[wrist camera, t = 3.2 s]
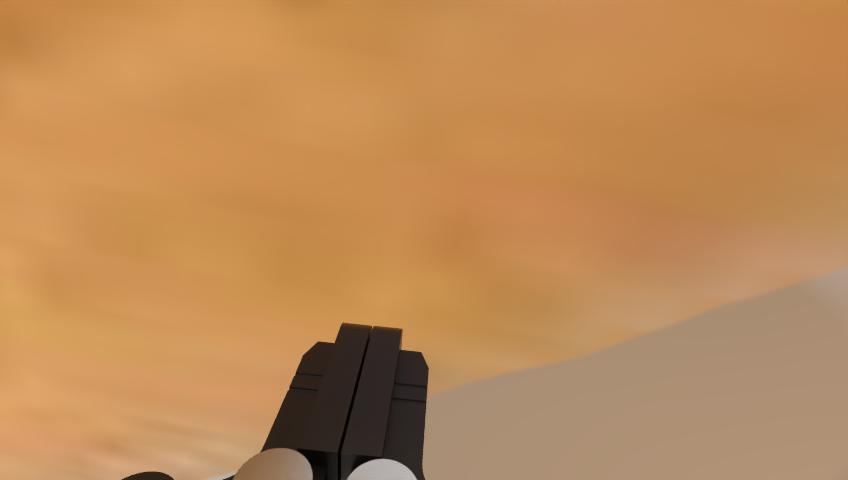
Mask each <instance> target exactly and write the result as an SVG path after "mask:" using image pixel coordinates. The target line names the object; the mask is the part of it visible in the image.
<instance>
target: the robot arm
mask: <svg viewBox="0 0 848 480" xmlns="http://www.w3.org/2000/svg"><path fill="white" fill-rule="evenodd" d="M402 331H403V330H402V329H399V328H389V327H379V326H374V327H373V329H372V326H368V325H359V324H349V323H342V325H341V327H340V330H339V332H338V335H337V338H336V341H335V343H327V342H317V343H316V344H315V345H314V346H313V347H312V348H311V349H310V350H309V351H307V352H306V353H305V354H304V355H303V357H302V359H301V362H300V364H299V366H298V369H297V371H296V375H295V376H294V378H293V380H292V382H291V385H290V388H289V391H288V392H287V394H286V396H285V398H284V401H283V403H282V405H281V408H280V410H279V412H278V415H277V417H276V419H275V421H274V424H273V426H272V428H271V431H270V433H269V435H268V438H267V440H266V442H265V444H264V446H263V448H262V450H261V452H260V453H259V454H257V455H255V456H253V457H252V458H250V459H249V460H248V461H247V462H245V463H244V464H243V465H242V466H241V468H240V469H239V470H238V472H237V473H236V474H235V475H233V476H231V477H229V478H226V479H224V480H425V478H424V475H423V469H422V458H423V442H424V429H425V413H426V399H427V384H428V370H429V368H428V366H427V364H426V362H425V359H424V357H423V355H422V353H421V352H415V351H405V350H401V345H402ZM122 480H174V479H173V478H172V477H170V476H169V475H167V474H164V473H161V472H142V473H138V474H134V475H131V476H129V477H126V478H124V479H122Z"/></svg>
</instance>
